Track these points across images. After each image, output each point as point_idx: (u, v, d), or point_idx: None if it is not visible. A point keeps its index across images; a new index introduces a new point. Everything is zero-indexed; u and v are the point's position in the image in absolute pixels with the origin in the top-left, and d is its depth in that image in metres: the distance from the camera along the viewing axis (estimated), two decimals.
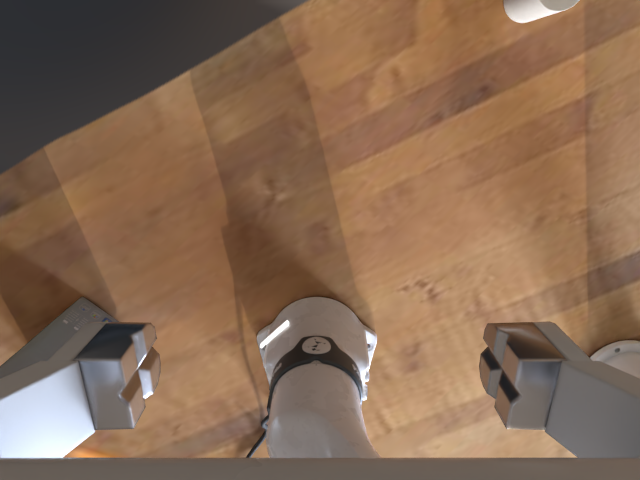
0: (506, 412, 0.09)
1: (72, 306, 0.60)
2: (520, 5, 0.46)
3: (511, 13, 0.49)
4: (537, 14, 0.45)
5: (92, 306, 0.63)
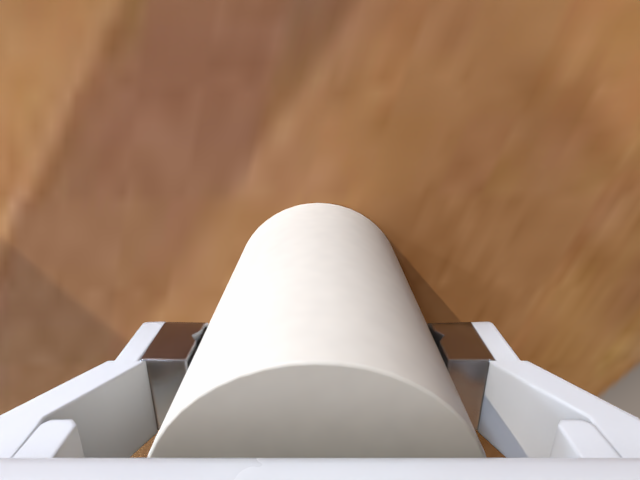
0: None
1: None
2: (374, 264, 0.09)
3: (347, 217, 0.12)
4: (290, 276, 0.08)
5: None
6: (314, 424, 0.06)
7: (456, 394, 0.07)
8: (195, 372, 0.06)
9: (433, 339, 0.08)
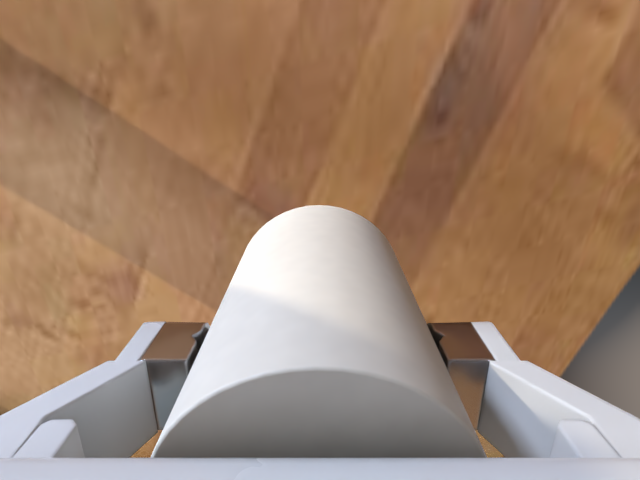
0: None
1: None
2: (375, 268, 0.09)
3: (348, 220, 0.12)
4: (290, 280, 0.08)
5: None
6: (316, 429, 0.06)
7: (458, 399, 0.06)
8: (196, 377, 0.06)
9: (434, 343, 0.08)
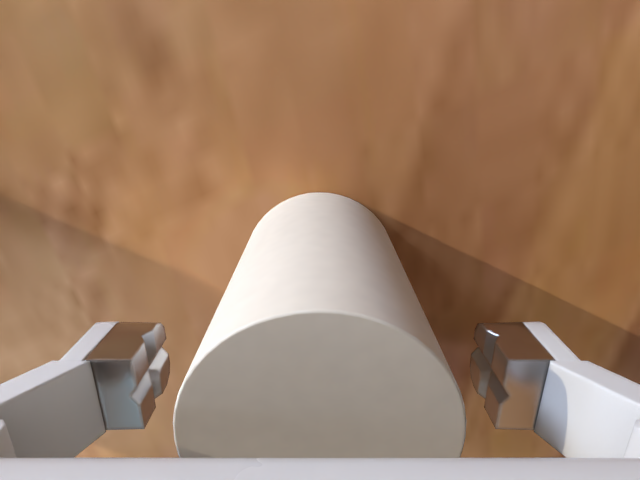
0: (496, 411, 0.09)
1: None
2: (369, 243, 0.10)
3: (346, 205, 0.13)
4: (295, 250, 0.09)
5: None
6: (318, 364, 0.07)
7: (437, 345, 0.08)
8: (216, 326, 0.08)
9: None
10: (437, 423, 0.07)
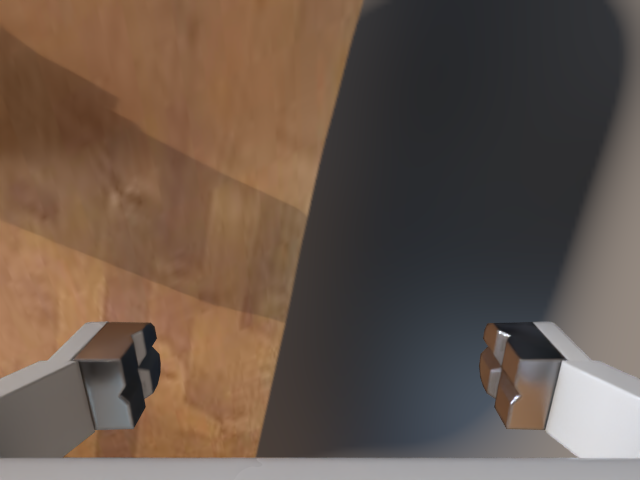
0: (506, 411, 0.09)
1: None
2: None
3: None
4: None
5: None
6: None
7: None
8: None
9: None
10: None
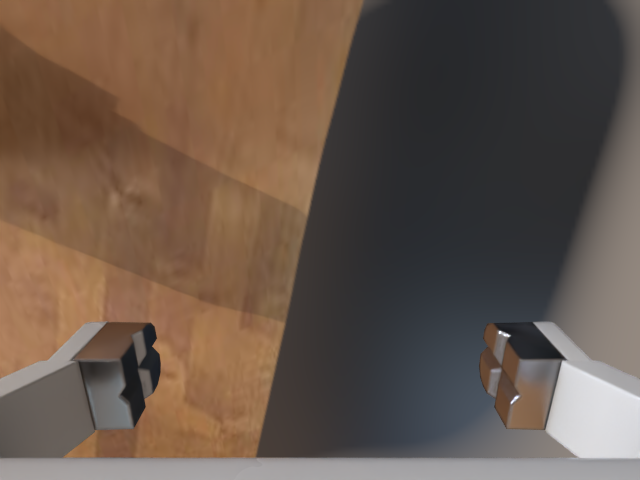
0: (506, 411, 0.09)
1: None
2: None
3: None
4: None
5: None
6: None
7: None
8: None
9: None
10: None
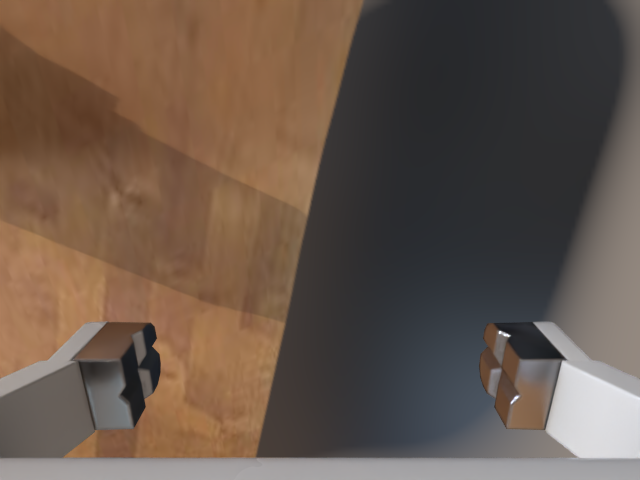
0: (506, 411, 0.09)
1: None
2: None
3: None
4: None
5: None
6: None
7: None
8: None
9: None
10: None
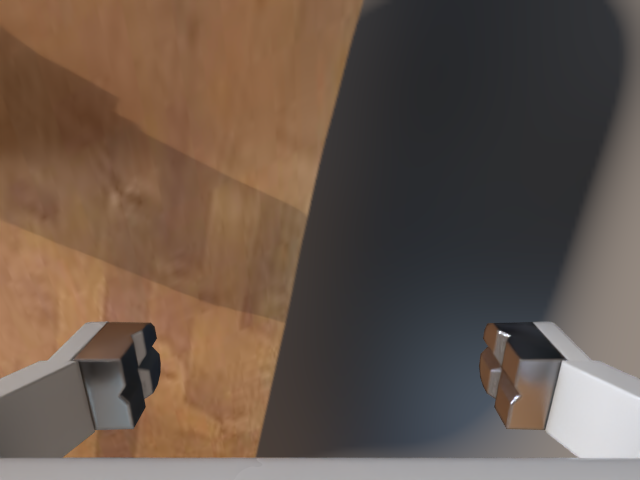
0: (506, 411, 0.09)
1: None
2: None
3: None
4: None
5: None
6: None
7: None
8: None
9: None
10: None
